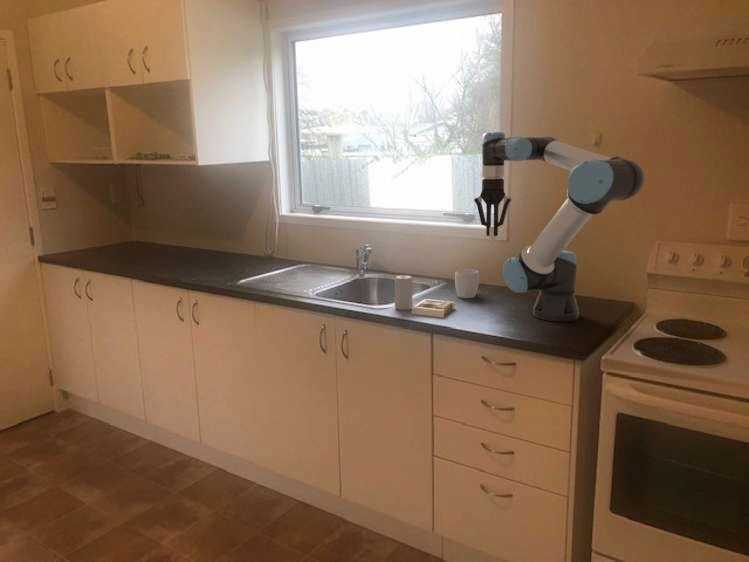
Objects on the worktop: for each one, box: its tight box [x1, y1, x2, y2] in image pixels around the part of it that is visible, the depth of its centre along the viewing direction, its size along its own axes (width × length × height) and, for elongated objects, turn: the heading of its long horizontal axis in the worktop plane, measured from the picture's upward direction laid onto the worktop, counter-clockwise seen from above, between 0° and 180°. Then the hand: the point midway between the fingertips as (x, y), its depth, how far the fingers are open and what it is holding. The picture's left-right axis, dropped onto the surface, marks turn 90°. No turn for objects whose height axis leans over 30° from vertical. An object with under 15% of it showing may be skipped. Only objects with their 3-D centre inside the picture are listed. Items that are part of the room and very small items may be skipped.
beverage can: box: [394, 274, 414, 312], centre depth 225 cm, size 6×6×12 cm
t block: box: [423, 300, 453, 316], centre depth 221 cm, size 9×9×3 cm
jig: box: [411, 298, 456, 318], centre depth 222 cm, size 12×12×2 cm
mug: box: [454, 268, 480, 299], centre depth 243 cm, size 13×9×10 cm
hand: (491, 245), depth 220 cm, fingers closed
